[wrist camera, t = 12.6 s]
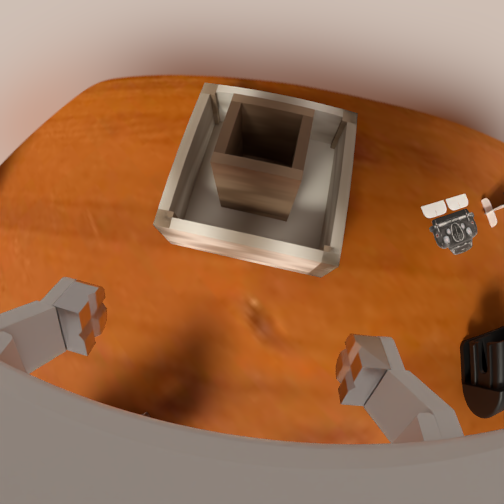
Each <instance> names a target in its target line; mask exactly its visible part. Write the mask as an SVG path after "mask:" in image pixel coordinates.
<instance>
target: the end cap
mask: <svg viewBox="0 0 504 504" xmlns="http://www.w3.org/2000/svg"><path fill="white" fill-rule="evenodd" d="M460 354H461V375H462V385H463V393H464V397H465V400H466V403H467V405H468V407H469V408H470V410H471V411H472V412H473V413H474V414H475V415H476V416H478V417H480V418H490V417H492V416H494V415H496V414H497V413H499V412H501V411H503V410H504V326H503V327H500V328H498V329H495V330H492V331H490V332H487V333H484V334H482V335H479V336H476V337H473V338H470V339H467V340H464V341H463V342H462V343H461V345H460Z"/></svg>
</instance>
